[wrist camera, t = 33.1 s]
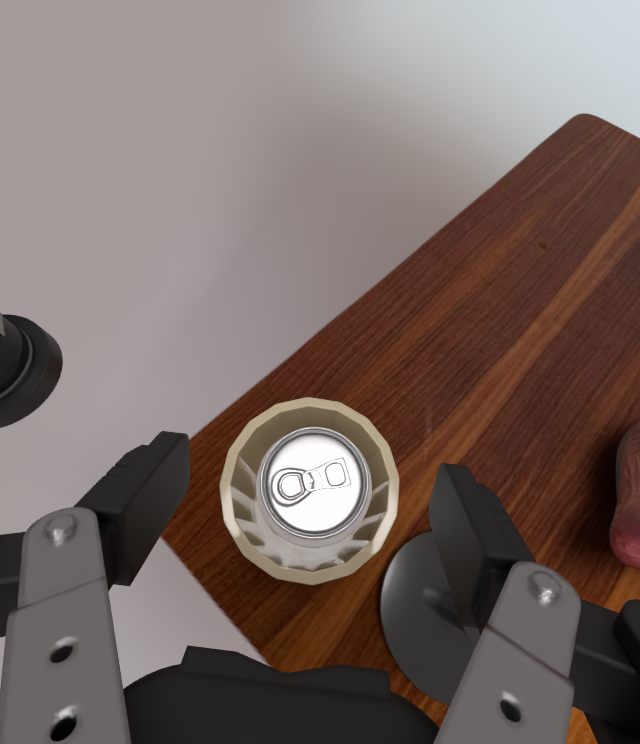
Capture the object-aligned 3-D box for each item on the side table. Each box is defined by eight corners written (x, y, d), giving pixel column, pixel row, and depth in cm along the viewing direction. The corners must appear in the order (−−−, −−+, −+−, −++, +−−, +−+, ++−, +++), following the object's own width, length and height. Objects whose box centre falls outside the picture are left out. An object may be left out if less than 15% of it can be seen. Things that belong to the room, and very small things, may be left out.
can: (264, 472, 31) (240, 434, 20) (339, 452, 31) (356, 406, 20) (281, 556, 28) (264, 566, 17) (362, 532, 29) (395, 527, 18)
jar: (223, 521, 29) (182, 512, 20) (292, 419, 33) (285, 370, 23) (330, 596, 27) (342, 627, 18) (390, 479, 31) (427, 452, 22)
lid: (351, 637, 26) (361, 662, 21) (414, 502, 30) (437, 495, 25) (492, 739, 24) (542, 794, 19) (541, 580, 28) (593, 589, 23)
